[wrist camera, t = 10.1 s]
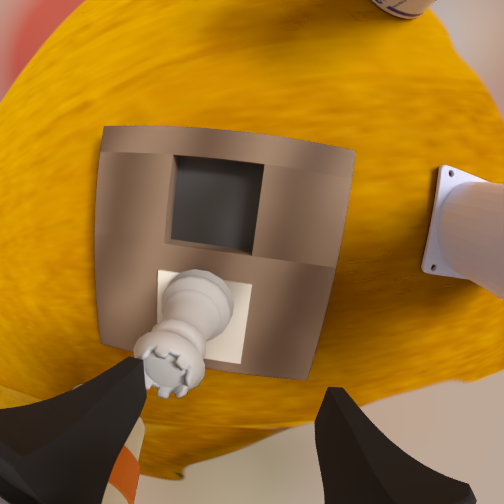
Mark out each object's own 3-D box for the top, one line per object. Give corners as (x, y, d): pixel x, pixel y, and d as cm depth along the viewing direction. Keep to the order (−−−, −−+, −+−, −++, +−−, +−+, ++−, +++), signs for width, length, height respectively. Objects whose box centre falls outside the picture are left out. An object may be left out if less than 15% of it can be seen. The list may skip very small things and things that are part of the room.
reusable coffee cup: (153, 385, 22) (86, 527, 8) (168, 462, 25) (136, 567, 11) (45, 355, 23) (-41, 442, 8) (75, 434, 26) (25, 515, 11)
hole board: (348, 152, 17) (356, 150, 16) (304, 368, 21) (307, 381, 20) (114, 129, 17) (102, 125, 16) (109, 334, 21) (99, 344, 20)
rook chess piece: (247, 316, 18) (236, 401, 11) (188, 339, 19) (151, 421, 11) (214, 255, 18) (177, 312, 10) (154, 283, 18) (93, 346, 10)
